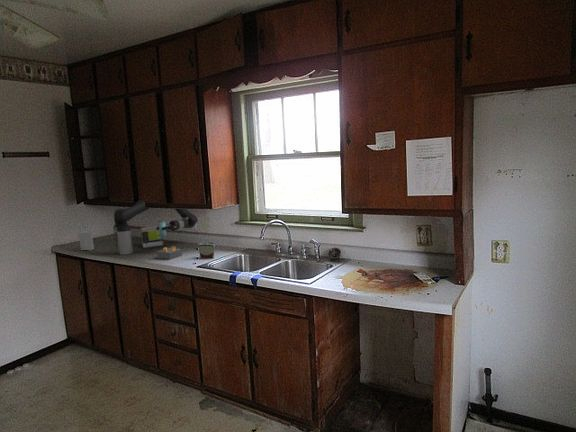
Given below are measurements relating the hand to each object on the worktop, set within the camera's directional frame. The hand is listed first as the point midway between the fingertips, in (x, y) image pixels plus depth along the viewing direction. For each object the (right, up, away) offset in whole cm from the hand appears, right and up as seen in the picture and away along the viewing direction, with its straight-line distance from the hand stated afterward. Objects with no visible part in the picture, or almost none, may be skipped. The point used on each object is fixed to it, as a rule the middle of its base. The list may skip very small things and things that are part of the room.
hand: (159, 228), depth 284 cm
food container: (+39, -19, -17) cm, 47 cm away
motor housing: (+11, -19, -11) cm, 25 cm away
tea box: (-16, -15, +32) cm, 39 cm away
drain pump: (+2, -6, +3) cm, 7 cm away
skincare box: (-66, -18, +26) cm, 73 cm away
